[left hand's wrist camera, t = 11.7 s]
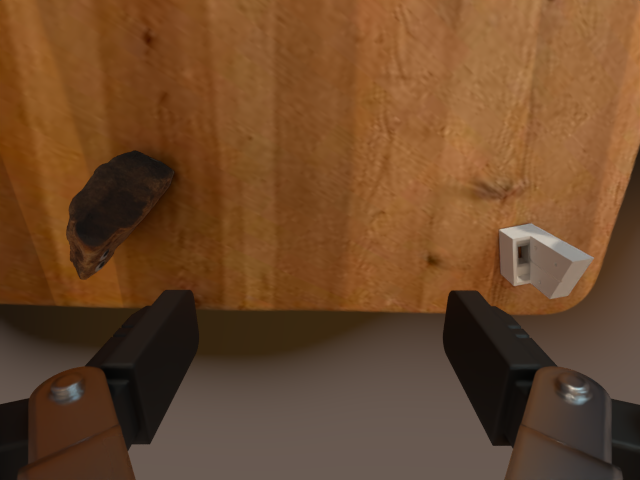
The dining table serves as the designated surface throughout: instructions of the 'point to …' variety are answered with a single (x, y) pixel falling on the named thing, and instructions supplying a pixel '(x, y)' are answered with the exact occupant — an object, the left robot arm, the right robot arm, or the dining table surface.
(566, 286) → the white angled block
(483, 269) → the dining table surface
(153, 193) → the decorative rock
